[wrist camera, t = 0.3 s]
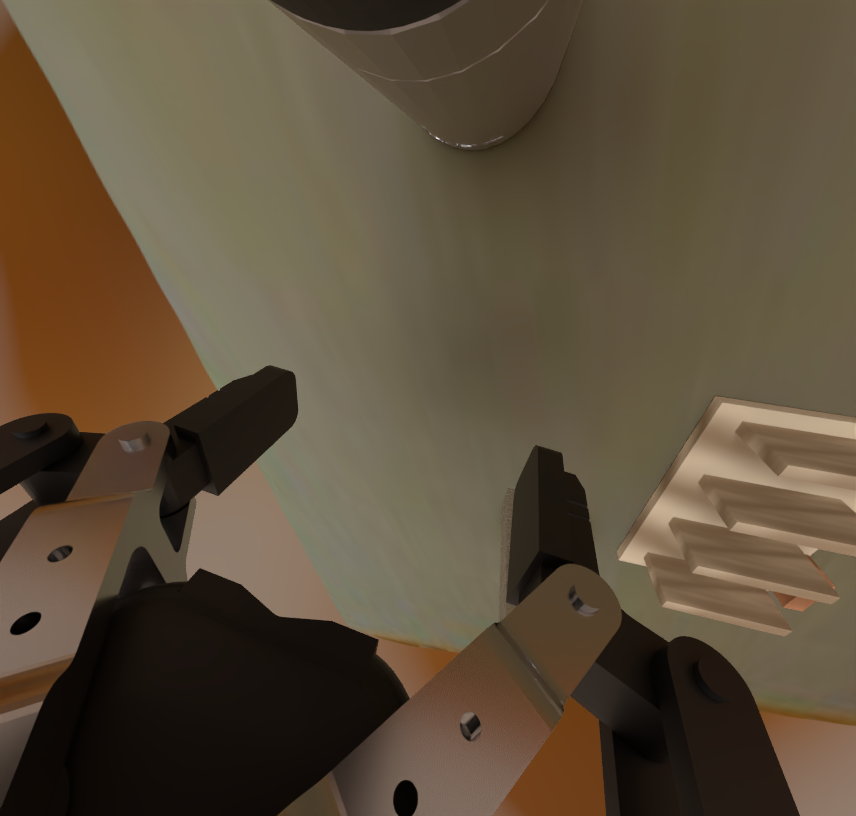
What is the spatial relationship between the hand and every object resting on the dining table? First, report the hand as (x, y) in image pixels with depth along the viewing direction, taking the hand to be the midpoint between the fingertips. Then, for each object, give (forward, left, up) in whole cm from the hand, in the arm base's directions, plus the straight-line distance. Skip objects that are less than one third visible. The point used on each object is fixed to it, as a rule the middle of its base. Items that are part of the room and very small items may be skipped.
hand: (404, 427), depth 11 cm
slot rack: (+15, +27, -18) cm, 35 cm away
